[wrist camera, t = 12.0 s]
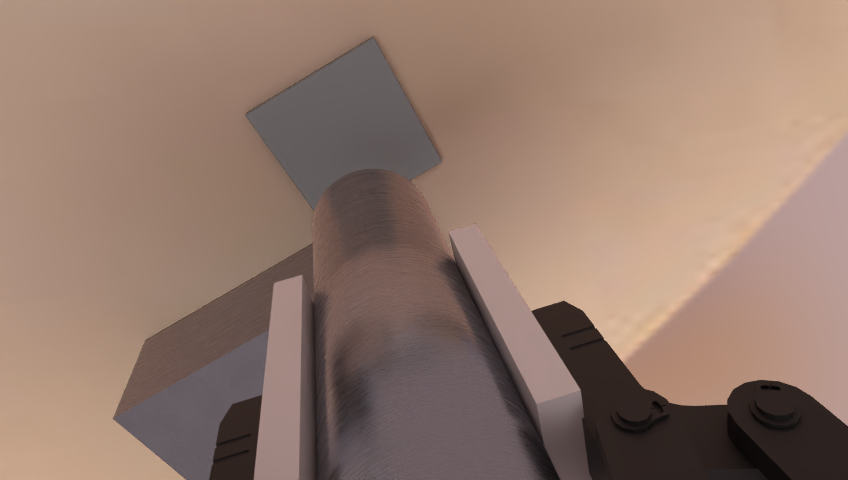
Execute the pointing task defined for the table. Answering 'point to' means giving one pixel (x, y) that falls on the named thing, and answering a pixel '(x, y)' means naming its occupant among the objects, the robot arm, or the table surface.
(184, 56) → the table surface
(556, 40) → the table surface
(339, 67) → the mat
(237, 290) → the block
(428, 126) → the table surface
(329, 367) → the grey cylinder with cap
